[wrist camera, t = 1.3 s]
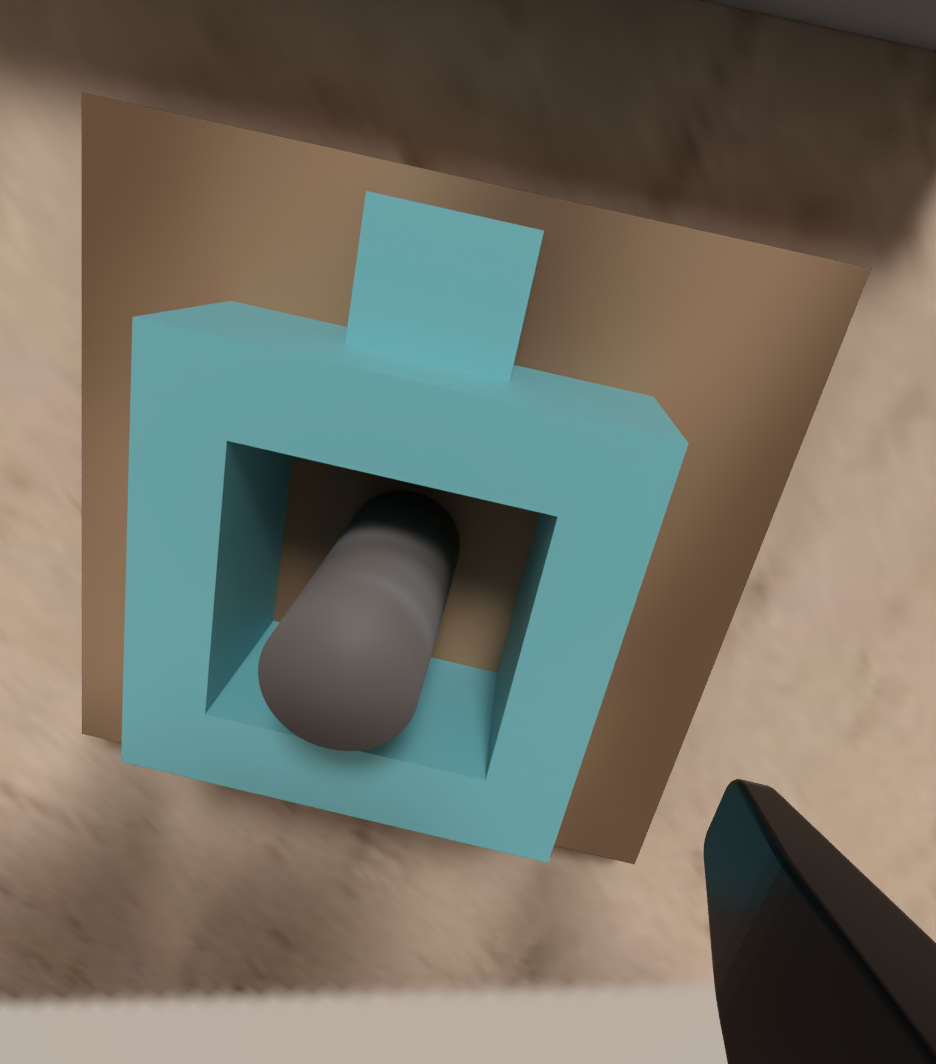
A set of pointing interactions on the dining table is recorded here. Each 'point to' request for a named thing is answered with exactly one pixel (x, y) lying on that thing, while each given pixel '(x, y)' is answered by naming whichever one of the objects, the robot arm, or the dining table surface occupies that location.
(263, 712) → the collar
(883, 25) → the tray
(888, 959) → the robot arm
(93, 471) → the peg base
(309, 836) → the dining table surface
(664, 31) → the dining table surface
